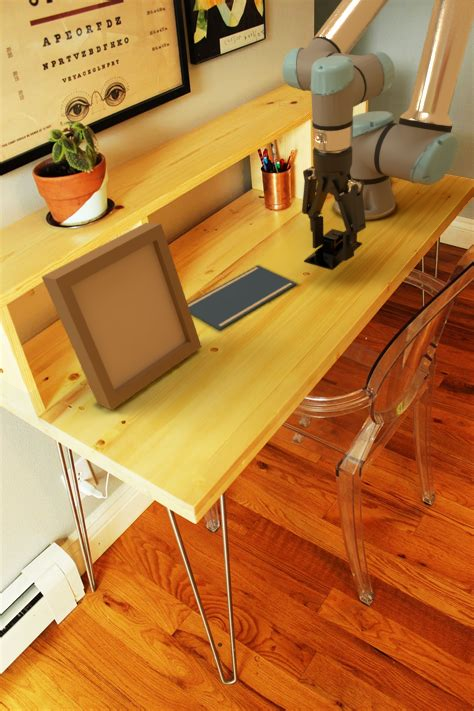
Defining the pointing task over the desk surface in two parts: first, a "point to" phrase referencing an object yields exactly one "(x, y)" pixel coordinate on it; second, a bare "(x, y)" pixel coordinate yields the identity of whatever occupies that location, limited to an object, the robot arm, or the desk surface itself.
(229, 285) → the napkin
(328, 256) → the build plate
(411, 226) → the desk surface
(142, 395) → the desk surface
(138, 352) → the photo frame
